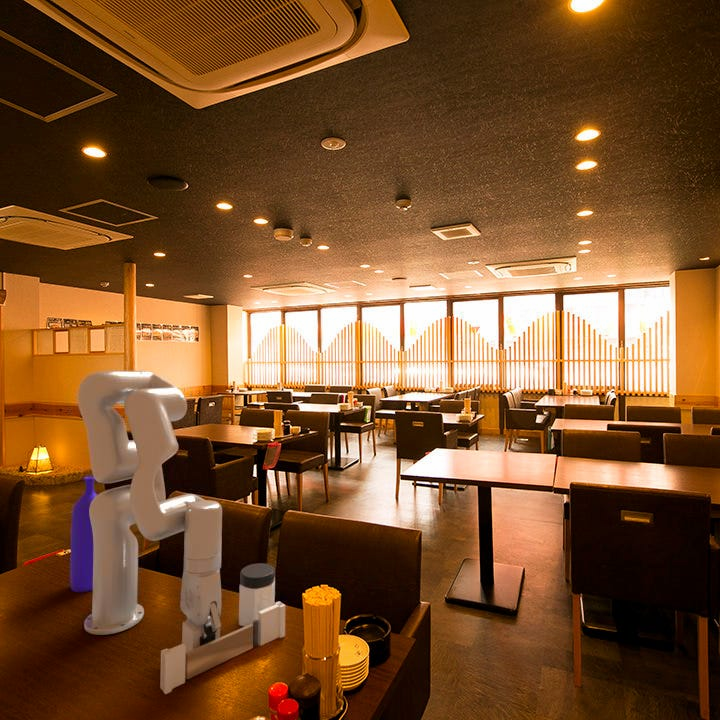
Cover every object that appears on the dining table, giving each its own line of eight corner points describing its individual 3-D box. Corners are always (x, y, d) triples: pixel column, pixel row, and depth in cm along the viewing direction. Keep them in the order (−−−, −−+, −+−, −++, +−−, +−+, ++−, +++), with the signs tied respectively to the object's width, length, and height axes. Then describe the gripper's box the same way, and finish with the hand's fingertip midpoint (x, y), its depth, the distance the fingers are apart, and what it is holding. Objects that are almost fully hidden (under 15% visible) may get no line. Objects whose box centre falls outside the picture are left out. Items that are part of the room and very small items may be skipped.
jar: (244, 634, 105) (245, 581, 105) (233, 617, 112) (234, 568, 112) (281, 622, 110) (281, 572, 110) (268, 607, 117) (268, 560, 117)
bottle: (84, 577, 132) (87, 473, 132) (111, 580, 130) (113, 474, 131) (62, 591, 123) (64, 480, 124) (90, 594, 122) (92, 481, 123)
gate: (185, 676, 90) (185, 650, 90) (256, 642, 101) (256, 619, 101) (187, 679, 89) (188, 653, 89) (259, 645, 100) (259, 621, 100)
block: (181, 650, 97) (182, 621, 97) (208, 638, 101) (209, 611, 101) (192, 661, 93) (193, 632, 93) (219, 649, 97) (220, 620, 97)
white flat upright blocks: (160, 687, 87) (161, 650, 87) (278, 631, 106) (279, 601, 106) (165, 694, 85) (166, 656, 85) (284, 636, 104) (285, 605, 104)
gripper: (168, 554, 101) (167, 637, 100) (204, 580, 88) (202, 675, 88) (201, 545, 106) (199, 624, 106) (239, 569, 94) (237, 658, 93)
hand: (201, 646), depth 97 cm, fingers closed on block, 5 cm apart
